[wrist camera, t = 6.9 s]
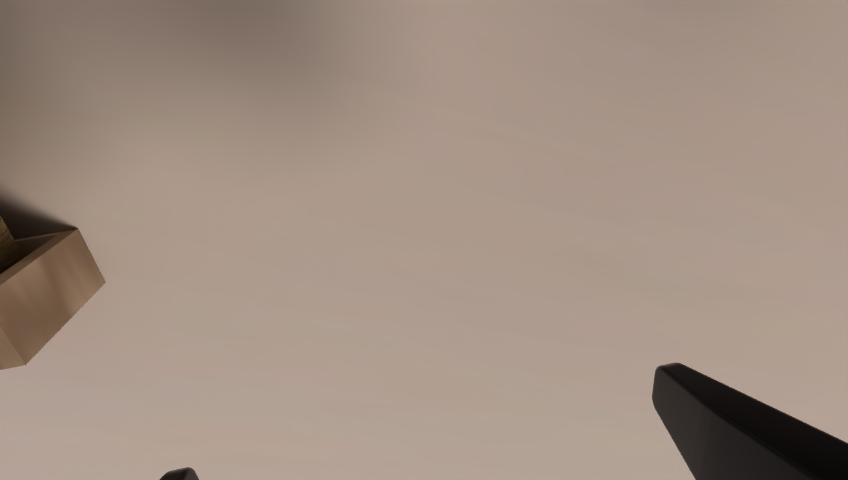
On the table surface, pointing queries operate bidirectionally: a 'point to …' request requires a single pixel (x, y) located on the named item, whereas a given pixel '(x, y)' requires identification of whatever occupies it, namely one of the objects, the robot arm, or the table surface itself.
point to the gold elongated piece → (8, 249)
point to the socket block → (43, 292)
